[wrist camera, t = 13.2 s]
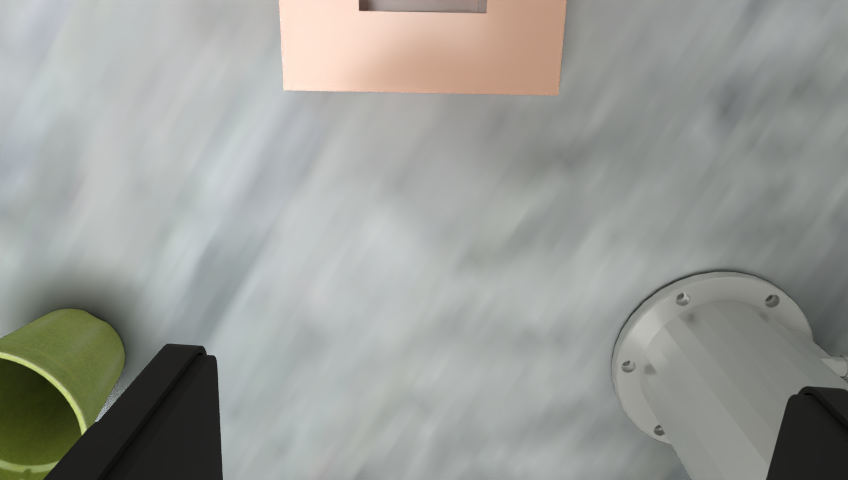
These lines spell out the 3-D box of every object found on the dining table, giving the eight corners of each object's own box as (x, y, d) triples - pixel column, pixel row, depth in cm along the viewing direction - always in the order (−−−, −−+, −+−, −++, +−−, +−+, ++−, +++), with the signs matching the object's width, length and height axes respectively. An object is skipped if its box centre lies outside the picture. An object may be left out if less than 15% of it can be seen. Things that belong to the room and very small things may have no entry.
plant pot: (-22, 301, 41) (-133, 374, 33) (117, 267, 40) (39, 333, 32) (44, 422, 44) (-43, 517, 36) (173, 392, 43) (115, 482, 35)
